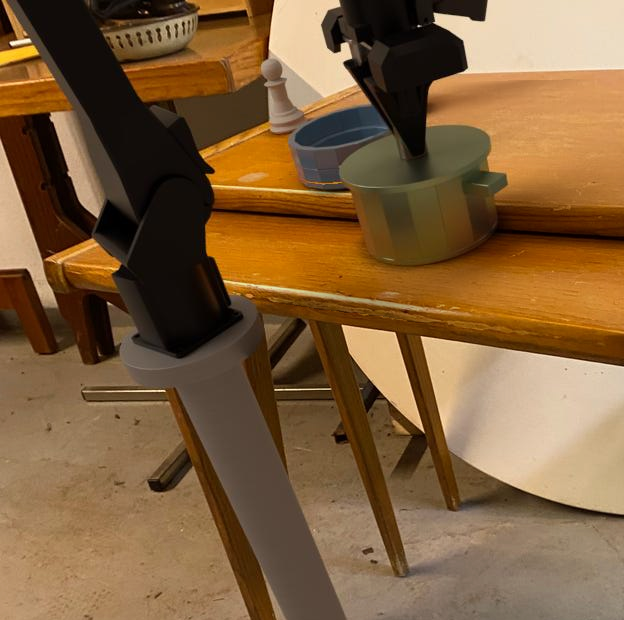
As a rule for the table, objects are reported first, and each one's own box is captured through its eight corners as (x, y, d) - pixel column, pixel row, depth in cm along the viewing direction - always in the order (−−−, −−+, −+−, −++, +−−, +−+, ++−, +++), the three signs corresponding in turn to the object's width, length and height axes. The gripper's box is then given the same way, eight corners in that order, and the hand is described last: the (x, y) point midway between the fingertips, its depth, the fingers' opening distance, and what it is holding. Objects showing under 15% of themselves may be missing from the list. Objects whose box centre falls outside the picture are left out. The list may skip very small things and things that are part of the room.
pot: (465, 280, 72) (449, 202, 68) (320, 250, 81) (298, 180, 77) (549, 216, 78) (538, 141, 74) (405, 195, 88) (388, 128, 84)
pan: (360, 199, 89) (347, 154, 86) (278, 186, 96) (264, 144, 93) (440, 149, 96) (431, 106, 93) (358, 141, 103) (347, 100, 100)
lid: (424, 209, 69) (409, 142, 66) (312, 192, 76) (292, 130, 73) (523, 144, 76) (513, 79, 73) (411, 133, 83) (397, 74, 80)
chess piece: (309, 128, 110) (288, 58, 105) (271, 137, 110) (248, 68, 105) (307, 116, 114) (287, 49, 109) (270, 126, 113) (248, 59, 108)
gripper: (517, -84, 60) (548, 151, 69) (425, -99, 74) (463, 97, 84) (357, -39, 58) (413, 196, 67) (295, -64, 72) (349, 133, 82)
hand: (413, 150), depth 75 cm, fingers closed on lid, 2 cm apart
